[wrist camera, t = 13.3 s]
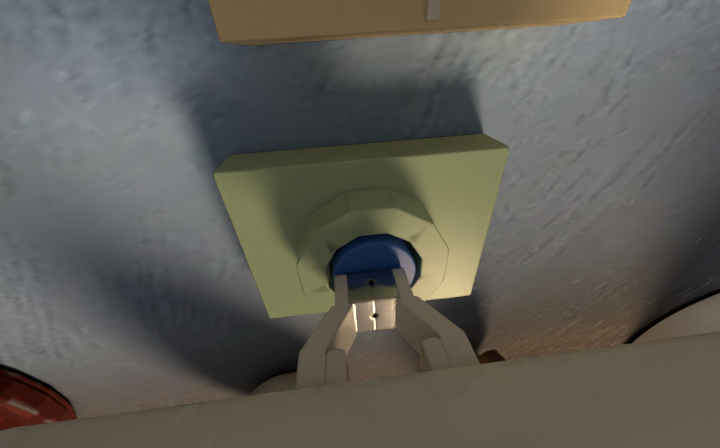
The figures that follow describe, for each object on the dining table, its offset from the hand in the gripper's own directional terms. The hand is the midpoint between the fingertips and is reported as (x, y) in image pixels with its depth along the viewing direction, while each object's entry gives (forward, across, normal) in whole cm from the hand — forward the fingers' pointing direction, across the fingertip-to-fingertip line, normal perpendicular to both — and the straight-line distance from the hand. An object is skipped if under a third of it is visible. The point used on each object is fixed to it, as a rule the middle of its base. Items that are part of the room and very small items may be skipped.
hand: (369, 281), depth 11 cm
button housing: (+4, 0, 0) cm, 4 cm away
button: (+2, 0, 0) cm, 2 cm away
